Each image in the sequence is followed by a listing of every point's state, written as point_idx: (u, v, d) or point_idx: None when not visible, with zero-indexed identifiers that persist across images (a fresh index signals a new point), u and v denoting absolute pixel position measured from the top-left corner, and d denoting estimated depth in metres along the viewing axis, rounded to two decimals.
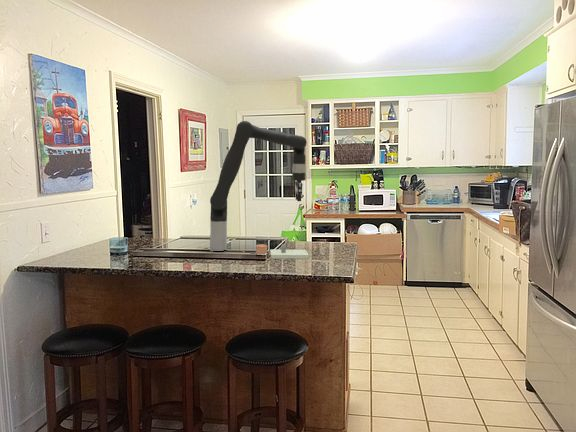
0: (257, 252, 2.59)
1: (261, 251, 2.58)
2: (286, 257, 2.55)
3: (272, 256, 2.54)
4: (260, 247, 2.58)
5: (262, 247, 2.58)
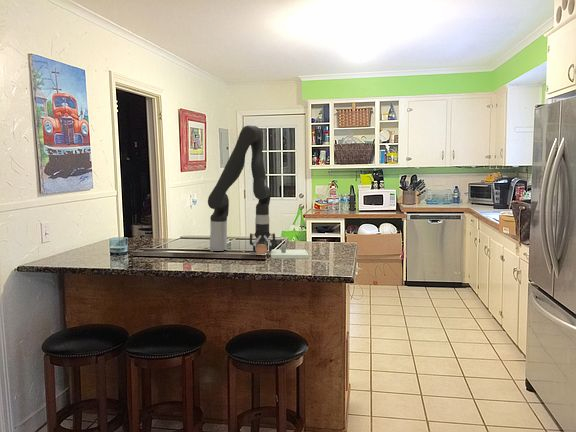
0: (257, 252, 2.59)
1: (261, 251, 2.58)
2: (286, 257, 2.55)
3: (272, 256, 2.54)
4: (260, 247, 2.58)
5: (262, 247, 2.58)
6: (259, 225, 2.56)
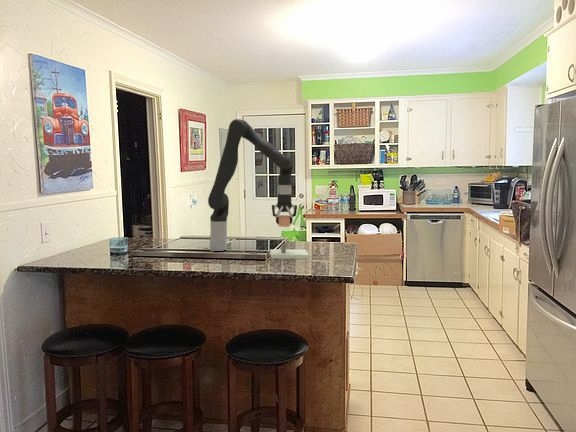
0: (280, 222, 2.57)
1: (284, 221, 2.56)
2: (286, 257, 2.55)
3: (272, 256, 2.54)
4: (283, 217, 2.56)
5: (285, 217, 2.56)
6: (281, 195, 2.54)
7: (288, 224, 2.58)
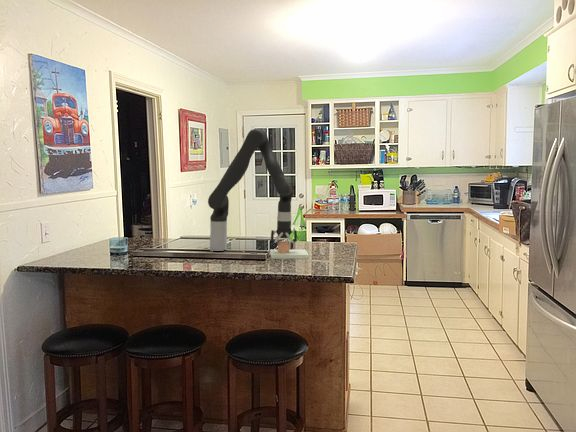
0: (279, 249, 2.59)
1: (283, 248, 2.58)
2: (286, 257, 2.55)
3: (272, 256, 2.54)
4: (282, 244, 2.58)
5: (284, 244, 2.58)
6: (281, 222, 2.56)
7: (287, 250, 2.60)
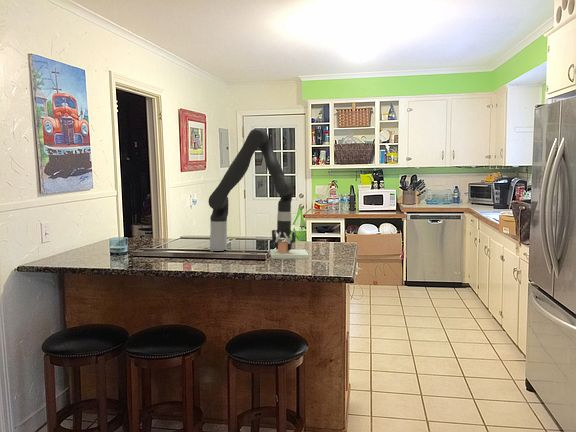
0: (279, 249, 2.59)
1: (283, 248, 2.58)
2: (286, 257, 2.55)
3: (272, 256, 2.54)
4: (282, 244, 2.58)
5: (284, 244, 2.58)
6: (278, 221, 2.57)
7: (287, 250, 2.60)
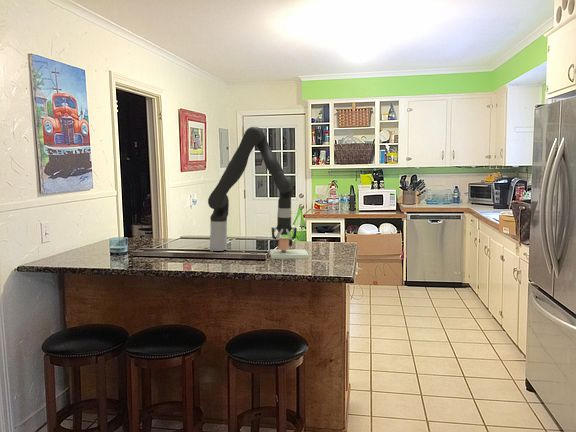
0: (282, 246, 2.58)
1: (286, 244, 2.59)
2: (286, 257, 2.55)
3: (272, 256, 2.54)
4: (286, 240, 2.58)
5: (287, 240, 2.59)
6: (282, 218, 2.56)
7: None
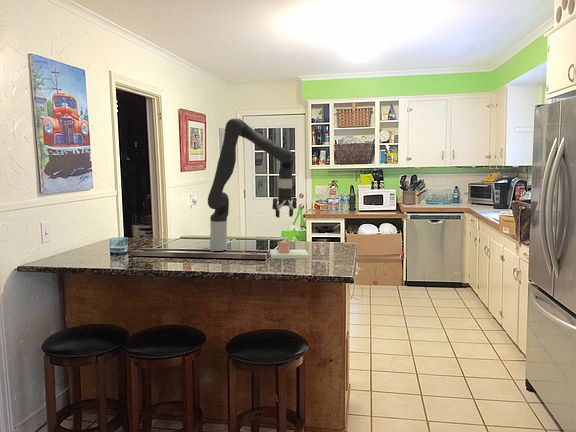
0: (285, 249, 2.59)
1: (288, 247, 2.60)
2: (286, 257, 2.55)
3: (272, 256, 2.54)
4: (288, 243, 2.59)
5: (289, 243, 2.60)
6: (286, 189, 2.53)
7: None
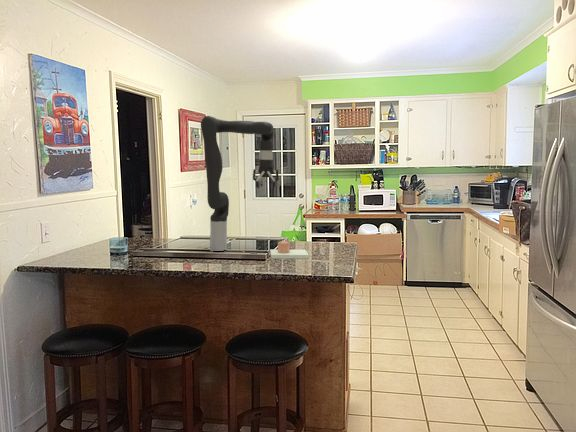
0: (285, 249, 2.59)
1: (288, 247, 2.60)
2: (286, 257, 2.55)
3: (272, 256, 2.54)
4: (288, 243, 2.59)
5: (289, 243, 2.60)
6: (263, 160, 2.60)
7: None
